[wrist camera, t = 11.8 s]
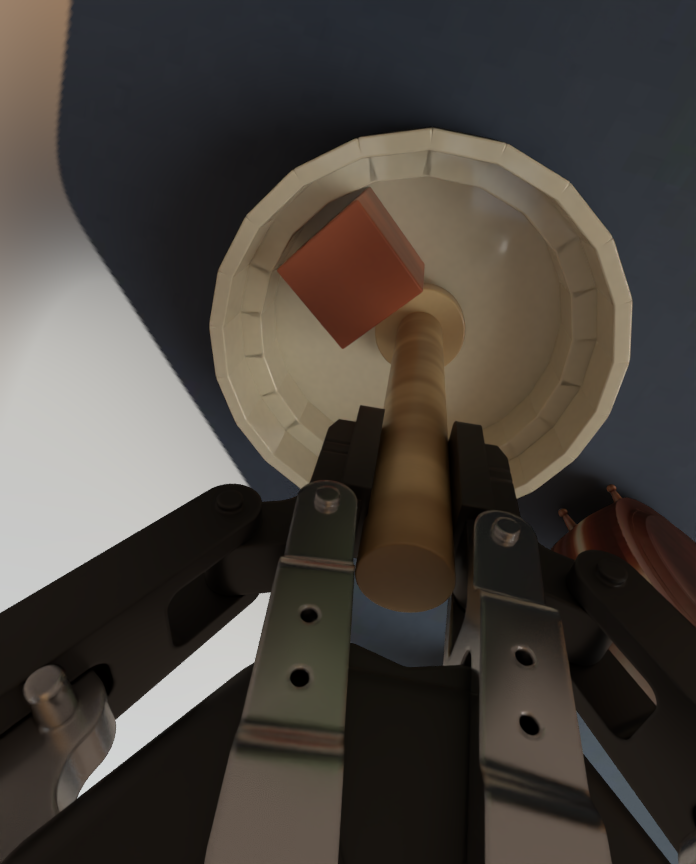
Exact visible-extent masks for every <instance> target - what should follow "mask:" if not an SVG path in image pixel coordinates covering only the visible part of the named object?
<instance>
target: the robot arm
mask: <svg viewBox="0 0 696 864" xmlns="http://www.w3.org/2000/svg"><path fill="white" fill-rule="evenodd" d="M384 413H385V409H382V408H376V407H370V406H364V405H360V407H359V411H358V415H357V419H356V422H355V421H349V420H343V419H338V420H337V421H336V422H335V423H333V424H332V425H331V426H330V427H329V428H328V430H327V433H326V436H325V440H324V442H323V445H322V449H321V451H320V454H319V457H318V460H317V463H316V466H315V469H314V472H313V475H312V478H311V481H310V483H308V484H306V485H305V486H303V487H302V488H301V489H300V491H299V492H298V495H297V496H296V497H293V498H291V499H287V500H282V501H268V502H262V500H261V497H260V495H259V494H258V493H257V492H256V491H255V490H254V489H252V488H250V487H247V486H244V485H240V484H224V485H220V486H217V487H214V488H212V489H210V490H208V491H206V492H205V493H203V494H201V495H200V496H198V497H196V498H194V499H193V500H191V501H189V502H188V503H186V504H184V505H183V506H181V507H179V508H177V509H176V510H174V511H173V512H171V513H169V514H167V515H166V516H164V517H162V518H161V519H159V520H157V521H156V522H154V523H152V524H150V525H149V526H147V527H145V528H144V529H142V530H141V531H138V532H137V533H135V534H133V535H132V536H130V537H128V538H127V539H125V540H123V541H122V542H120V543H118V544H116V545H115V546H113V547H111V548H110V549H108V550H106V551H105V552H103V553H101V554H100V555H98V556H96V557H94V558H93V559H91V560H89V561H88V562H86V563H84V564H83V565H81V566H79V567H78V568H76V569H74V570H72V571H71V572H69V573H67V574H66V575H64V576H62V577H61V578H59V579H57V580H55V581H54V582H52V583H50V584H49V585H47V586H45V587H44V588H42V589H40V590H38V591H37V592H36V593H34V594H32V595H30V596H28V597H27V598H25V599H23V600H22V601H20V602H18V603H16V604H15V605H13V606H11V607H10V608H8V609H6V610H5V611H3V612H1V613H0V864H671V863H670V862H669V861H668V860H667V858H666V857H665V856H664V855H663V853H662V852H661V851H660V849H659V848H658V847H657V846H656V844H655V843H654V842H653V841H652V839H651V838H650V837H649V836H648V834H647V833H646V832H645V831H644V829H643V828H642V827H641V826H640V824H639V823H638V822H637V821H636V819H635V818H634V817H633V816H632V814H631V813H630V812H629V811H628V809H627V808H626V807H625V806H624V804H623V803H622V802H621V801H620V799H619V798H618V797H617V796H616V794H615V793H614V792H613V790H612V789H611V788H610V787H609V785H608V784H607V783H606V782H605V780H604V779H603V778H602V777H601V775H600V774H599V773H598V772H597V770H596V769H595V768H594V767H593V765H592V764H591V763H590V762H589V760H588V759H587V758H586V757H585V755H584V754H583V751H582V745H581V739H580V732H579V726H578V720H577V714H576V711H577V712H578V713H579V715H580V716H581V718H582V719H583V720H584V722H585V723H586V725H587V726H588V727H589V729H590V730H591V732H592V733H593V734H594V736H595V737H596V739H597V740H598V741H599V743H600V744H601V746H602V747H603V748H604V750H605V751H606V753H607V754H608V755H609V757H610V758H611V760H612V761H613V762H614V764H615V765H616V767H617V768H618V770H619V771H620V772H621V774H622V775H623V777H624V778H625V779H626V781H627V782H628V784H629V785H630V786H631V788H632V789H633V791H634V792H635V793H636V795H637V796H638V798H639V799H640V800H641V802H642V803H643V805H644V806H645V807H646V809H647V810H648V812H649V813H650V814H651V816H652V817H653V819H654V820H655V821H656V823H657V824H658V826H659V827H660V829H661V830H662V831H663V833H664V834H665V836H666V837H667V838H668V840H669V841H670V843H671V844H672V845H673V847H674V848H675V850H676V851H677V852H678V862H679V864H696V627H695V626H694V625H693V624H692V623H691V622H690V621H689V620H688V619H687V618H686V617H684V616H683V615H682V614H681V613H680V612H679V611H678V610H677V609H676V608H675V607H674V606H673V605H672V604H671V603H670V602H669V601H668V600H667V599H666V598H665V597H664V596H663V595H662V594H661V593H660V592H659V591H657V590H656V589H655V588H654V587H653V586H652V585H651V584H650V583H649V582H648V581H647V580H646V579H645V578H644V577H643V576H642V575H641V574H640V573H639V572H638V571H637V570H636V569H635V568H634V567H632V566H631V565H630V564H629V563H627V562H626V561H625V560H623V559H621V558H620V557H618V556H616V555H614V554H611V553H608V552H605V551H601V550H586V551H583V552H581V553H580V554H579V555H578V556H577V557H576V559H575V560H573V559H571V558H568V557H566V556H564V555H561V554H559V553H556V552H554V551H552V550H550V549H548V548H546V547H544V546H542V545H541V544H539V543H538V541H537V536H536V533H535V531H534V530H533V528H532V527H531V526H530V525H529V524H528V523H527V522H526V521H525V520H523V519H522V518H521V517H520V512H519V508H518V503H517V499H516V494H515V489H514V485H513V483H512V481H513V480H512V476H511V473H510V467H509V462H508V458H507V457H506V455H505V454H504V453H503V452H502V450H501V449H500V448H499V447H498V446H497V445H491V444H485V442H484V436H483V429H482V426H481V425H477V424H471V423H465V422H459V421H455V422H454V423H453V426H452V430H451V433H450V437H449V441H448V445H449V464H450V482H451V500H452V519H453V537H454V555H455V574H456V583H455V588H454V590H453V592H452V594H451V595H450V597H449V598H448V605H447V618H446V631H445V645H444V658H443V666H427V667H405V666H402V665H400V664H397V663H395V662H393V661H391V660H389V659H387V658H385V657H382V656H380V655H378V654H376V653H374V652H372V651H369V650H367V649H365V648H363V647H361V646H359V645H356V644H353V643H350V635H351V620H352V604H353V589H354V572H355V565H353V558H357V557H358V551H359V545H360V539H361V534H362V528H363V523H364V520H365V518H366V516H367V515H368V509H369V503H370V497H371V491H372V485H373V479H374V473H375V467H376V461H377V455H378V449H379V443H380V437H381V431H382V425H383V419H384ZM267 592H271V595H270V599H269V603H268V608H267V612H266V616H265V620H264V625H263V629H262V633H261V637H260V641H259V646H258V650H257V654H256V658H255V662H254V663H253V664H251V665H249V666H248V667H246V668H244V669H243V670H242V671H240V672H239V673H238V674H236V675H235V676H234V677H232V678H231V679H230V680H228V681H227V682H226V683H225V684H223V685H222V686H221V687H220V688H218V689H217V690H216V691H215V692H213V693H212V694H210V695H209V696H208V697H207V698H205V699H204V700H203V701H202V702H200V703H199V704H198V705H196V706H195V707H194V708H193V709H191V710H190V711H189V712H187V713H186V714H185V715H184V716H182V717H181V718H180V719H178V720H177V721H176V722H175V723H173V724H172V725H171V726H170V727H168V728H167V729H166V730H164V731H163V732H162V733H161V734H159V735H158V736H157V737H155V738H154V739H153V740H152V741H151V742H149V743H148V744H147V745H145V746H144V747H143V748H141V749H140V750H139V751H137V752H136V753H135V754H134V755H132V756H131V757H130V758H129V759H127V760H126V761H125V762H123V764H121V765H120V766H118V767H117V768H116V769H114V770H113V771H112V772H111V773H110V774H108V775H107V776H106V777H104V778H103V779H102V780H100V781H99V782H98V783H96V784H95V785H94V786H93V787H91V788H90V789H89V790H88V791H86V792H85V793H84V794H82V795H81V796H80V797H79V798H77V797H78V794H79V792H80V790H81V788H82V787H83V785H84V783H85V782H86V780H87V779H88V777H89V776H90V775H91V774H92V773H93V771H94V770H95V769H96V768H97V767H98V766H99V765H100V763H101V762H102V761H103V760H104V759H105V757H106V756H107V754H108V752H109V750H110V749H111V747H112V744H113V741H114V738H115V733H116V722H115V720H116V719H117V718H118V717H119V716H120V715H121V714H123V713H124V712H125V711H126V710H127V709H128V708H130V707H131V706H132V705H133V704H134V703H135V702H137V701H138V700H139V699H140V698H141V697H142V696H144V694H146V693H147V692H148V691H149V690H151V689H152V688H153V687H154V686H155V685H156V684H157V683H159V682H160V681H161V680H162V679H163V678H165V677H166V676H167V675H168V674H169V673H170V672H172V671H173V670H174V669H175V668H176V667H177V666H179V665H180V664H181V663H182V662H183V661H184V660H185V659H187V658H188V657H189V656H190V655H191V654H193V653H194V652H195V651H196V650H197V649H198V648H200V647H201V646H202V645H203V644H204V643H205V642H207V641H208V640H209V639H210V638H211V637H212V636H214V635H215V634H216V633H217V632H218V631H219V630H221V629H222V628H223V627H224V626H225V625H226V624H227V623H229V622H230V621H231V620H232V619H233V618H234V617H236V616H237V615H238V614H239V613H240V612H241V611H243V610H244V609H245V608H246V607H247V606H248V605H250V604H251V603H252V602H253V601H254V600H255V599H256V598H257V596H258V595H259V593H267ZM612 643H614V644H615V645H616V647H617V648H618V649H619V650H620V651H621V652H622V654H623V655H624V656H625V657H626V658H627V659H628V661H629V662H630V663H631V664H632V665H633V666H634V667H635V669H636V670H637V671H638V672H639V673H640V674H641V676H642V677H643V678H644V679H645V680H646V681H647V683H648V684H649V685H650V687H651V688H652V690H653V692H654V695H655V698H656V705H655V704H654V702H653V701H652V700H651V699H650V698H649V696H648V695H647V694H646V693H645V692H644V690H643V689H642V688H641V687H640V686H639V685H638V683H637V682H636V681H635V680H634V679H633V677H632V676H631V675H630V674H629V673H628V672H627V670H626V669H625V668H624V667H623V666H622V664H621V663H620V662H619V661H618V660H617V659H616V657H615V656H614V655H613V654H612V653H611V651H610V650H609V649H608V648H609V647H610V646H611V644H612Z"/></svg>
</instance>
